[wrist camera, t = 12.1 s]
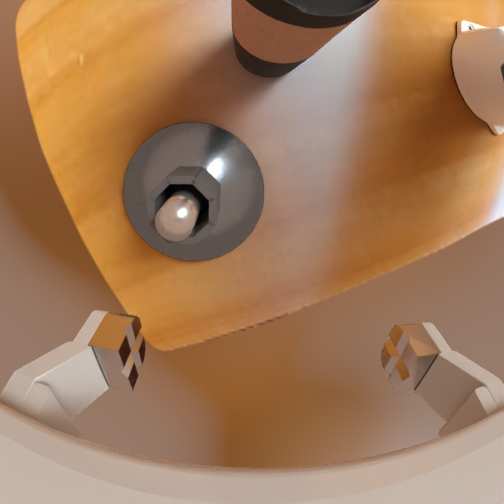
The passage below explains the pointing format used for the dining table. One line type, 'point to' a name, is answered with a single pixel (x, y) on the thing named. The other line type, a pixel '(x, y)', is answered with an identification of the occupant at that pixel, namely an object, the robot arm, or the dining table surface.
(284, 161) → the dining table surface
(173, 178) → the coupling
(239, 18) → the travel mug
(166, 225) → the grey metal round base
